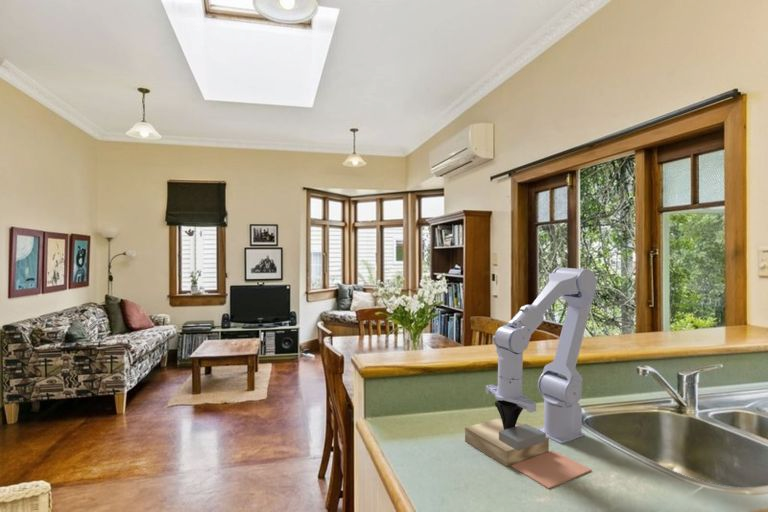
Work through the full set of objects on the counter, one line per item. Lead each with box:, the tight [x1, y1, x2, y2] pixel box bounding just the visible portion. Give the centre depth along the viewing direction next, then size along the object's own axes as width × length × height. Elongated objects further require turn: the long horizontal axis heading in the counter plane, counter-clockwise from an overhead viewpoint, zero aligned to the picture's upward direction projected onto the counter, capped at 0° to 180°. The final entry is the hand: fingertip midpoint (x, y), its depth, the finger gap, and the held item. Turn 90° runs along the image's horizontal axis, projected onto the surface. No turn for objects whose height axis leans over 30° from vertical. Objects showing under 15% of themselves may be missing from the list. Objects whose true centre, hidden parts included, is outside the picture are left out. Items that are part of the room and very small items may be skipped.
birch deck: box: [464, 417, 550, 467], centre depth 106 cm, size 14×14×4 cm
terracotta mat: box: [510, 450, 592, 490], centre depth 95 cm, size 14×10×1 cm
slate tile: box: [499, 423, 546, 451], centre depth 101 cm, size 9×6×2 cm, turn 120°
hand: (509, 431), depth 105 cm, fingers closed
